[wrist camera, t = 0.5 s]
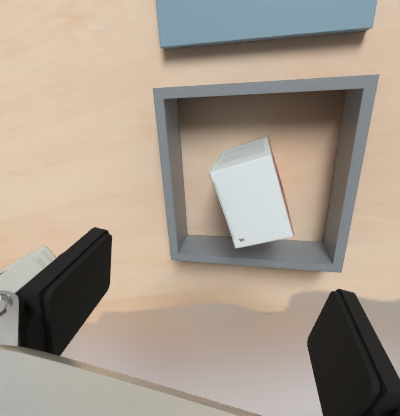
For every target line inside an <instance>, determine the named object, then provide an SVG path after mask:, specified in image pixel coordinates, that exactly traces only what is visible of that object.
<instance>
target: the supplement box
mask: <svg viewBox="0 0 400 416" xmlns="http://www.w3.org/2000/svg"><path fill="white" fill-rule="evenodd" d="M55 259H56V257H55V256H54V255H53V254H52V252H51V251H50V250H49V249H48V248H47V246H46V245H43V246H41V247H40V248H38V249H37V250H35V251H33V252H31V253H30V254H28V255H26V256H24V257H22V258H20V259H18V260H17V261H15V262H14V263H13V264H11V265H10V266H8V267H7V268H5V269H4V270H2V271H1V272H0V290H5V291H10V292H13V293H15V292H17V291H18V290H19V289H20V288H21V287H23V286H24V285H25V284H26V283H27V282H29V281H30V280H31V279H32V278H33V277H34V276H36V275H37V274H38V273H39V272H40V271H42V270H43V269H44V268H45V267H46V266H48V265H49V264H50V263H51V262H52V261H53V260H55Z"/></svg>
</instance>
